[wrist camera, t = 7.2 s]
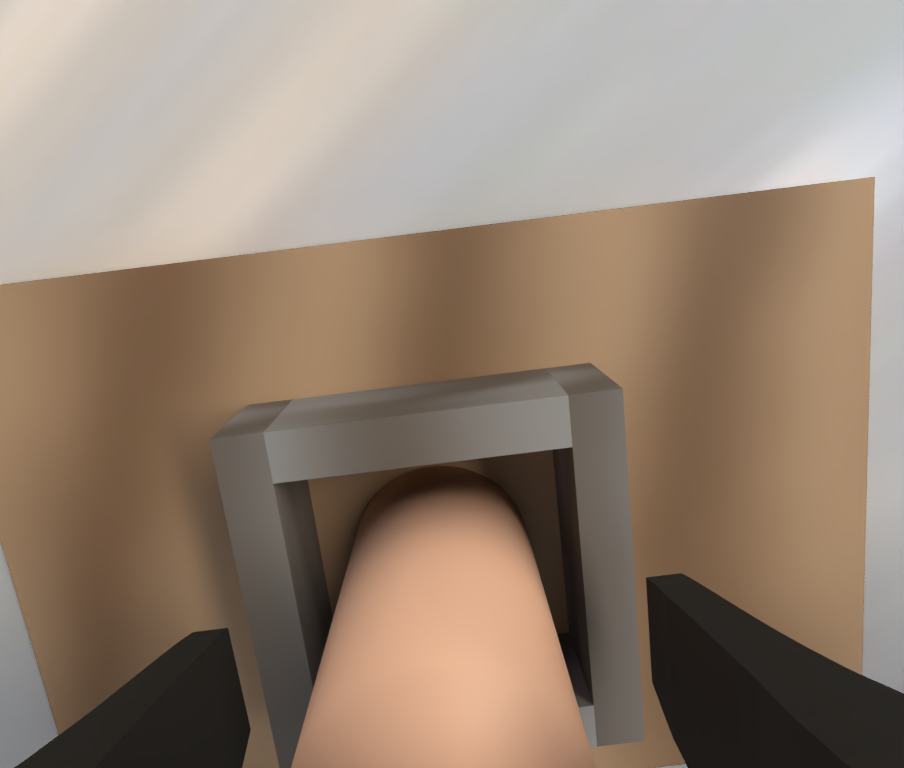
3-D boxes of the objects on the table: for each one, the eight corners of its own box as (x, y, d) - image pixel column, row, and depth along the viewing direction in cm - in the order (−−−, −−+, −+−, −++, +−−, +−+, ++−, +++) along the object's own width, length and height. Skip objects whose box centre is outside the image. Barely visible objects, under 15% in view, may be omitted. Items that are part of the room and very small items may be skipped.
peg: (514, 453, 14) (580, 645, 8) (537, 608, 15) (615, 905, 9) (341, 480, 15) (253, 695, 8) (373, 634, 15) (321, 948, 9)
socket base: (844, 181, 14) (971, 163, 11) (836, 714, 17) (933, 829, 14) (-40, 290, 14) (-188, 306, 11) (108, 802, 18) (29, 938, 14)
